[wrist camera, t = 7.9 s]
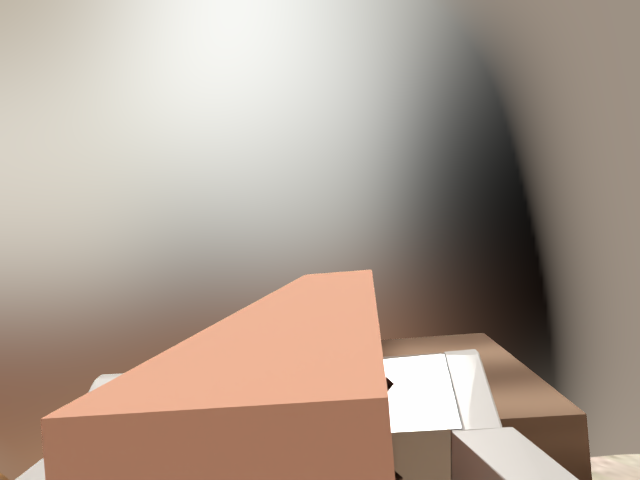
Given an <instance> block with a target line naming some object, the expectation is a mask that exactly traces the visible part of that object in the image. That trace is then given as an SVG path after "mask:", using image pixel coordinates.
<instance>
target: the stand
mask: <svg viewBox="0 0 640 480" xmlns="http://www.w3.org/2000/svg"><path fill="white" fill-rule="evenodd" d="M381 344H382V352H383V357H389V356H402V355H416V354H429V353H444V352H447V351H458V350H470V349H476V350H477V351H478V352H479V354H480V358H481V361H482V364H483V367H484V370H485V373H486V377H487V380H488V383H489V386H490V389H491V393H492V396H493V399H494V402H495V405H496V408H497V412H498V415H499V418H500V421H501V424H502V427H513V428H515V429H516V430H517V431H518V432H520V433H521V434H522V435H523V436H525V437H526V438H527V439H528V440H530V441H531V442H532V443H533V444H535V445H536V446H537V447H538V448H540V449H541V450H542V451H543V452H545V453H546V454H547V455H548V456H550V457H551V458H552V459H553V460H555V461H556V462H557V463H558V464H560V465H561V466H562V467H563V468H565V469H566V470H567V471H568V472H570V473H571V474H572V475H574V476H575V477H576V478H577V479H579V480H592V475H591V463H590V452H589V440H588V428H587V418H586V413H584V412H583V411H582V410H580V409H579V408H578V407H577V406H575V405H574V404H572V403H571V402H570V401H569V400H568V399H566V398H565V397H564V396H563V395H561V394H560V393H559V392H557V391H556V390H555V389H554V388H553V387H551V386H550V385H549V384H547V383H546V382H545V381H544V380H542V379H541V378H540V377H539V376H537V375H536V374H535V373H533V372H532V371H531V370H530V369H528V368H527V367H526V366H525V365H523V364H522V363H521V362H520V361H518V360H517V359H516V358H514V357H513V356H512V355H511V354H509V353H508V352H507V351H506V350H504V349H503V348H502V347H501V346H499V345H498V344H497V343H495V342H494V341H493V340H492V339H490V338H489V337H488V336H486V335H485V334H484V333H475V334H462V335H447V336H432V337H419V338H404V339H390V340H381Z"/></svg>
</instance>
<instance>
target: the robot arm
mask: <svg viewBox="0 0 640 480" xmlns="http://www.w3.org/2000/svg"><path fill="white" fill-rule="evenodd" d="M383 359H384V367H385V374H386V382H387V390H388V397H389V409H390V421H391V433H392V445H393V457H394V469H395V480H579V479H577V478H576V477H575V476H574V475H572V474H571V473H570V472H568V471H567V470H566V469H565V468H563V467H562V466H561V465H560V464H558V463H557V462H556V461H555V460H553V459H552V458H551V457H550V456H548V455H547V454H546V453H545V452H543V451H542V450H541V449H540V448H538V447H537V446H536V445H535V444H533V443H532V442H531V441H530V440H528V439H527V438H526V437H525V436H523V435H522V434H521V433H520V432H518V431H517V430H516V429H515V428H513V427H502V424H501V421H500V418H499V415H498V412H497V408H496V405H495V402H494V399H493V396H492V393H491V389H490V386H489V383H488V380H487V377H486V373H485V370H484V367H483V364H482V361H481V358H480V354H479V352H478V351H477V350H476V349H470V350H458V351H447V352H444V353H429V354H416V355H402V356H389V357H383ZM120 375H122V374H106V375H105V374H103V375H101V376H99V377H98V378H97V379H95V381H94V382H93V384H92V386H91V388H90V390H89V392H91V391H93V390H94V389H96V388H98V387H100V386H102V385H104V384H105V383H107V382H109V381H111V380H113V379H115V378H116V377H118V376H120ZM89 392H88V393H89ZM15 480H45V469H44V458H43V459H42V460H40V461H39V462H37V463H36V464H35V465H33V466H32V467H31V468H30V469H28V470H27V471H26V472H25V473H23V474H22V475H21V476H20V477H18V478H17V479H15Z"/></svg>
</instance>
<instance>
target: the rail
mask: <svg viewBox="0 0 640 480" xmlns="http://www.w3.org/2000/svg"><path fill="white" fill-rule="evenodd" d="M41 431H42V443H43V456H44V469H45V480H395V469H394V457H393V445H392V433H391V421H390V409H389V397H388V390H387V382H386V374H385V367H384V359H383V352H382V344H381V337H380V329H379V322H378V314H377V307H376V299H375V291H374V284H373V276H372V270H359V271H347V272H335V273H321V274H309V275H304V276H302V277H300V278H298V279H296V280H295V281H293V282H291V283H289V284H287V285H285V286H284V287H282V288H280V289H278V290H276V291H274V292H272V293H271V294H269V295H267V296H265V297H263V298H261V299H260V300H258V301H256V302H254V303H252V304H250V305H249V306H247V307H245V308H243V309H241V310H239V311H238V312H236V313H234V314H232V315H230V316H229V317H227V318H225V319H223V320H221V321H219V322H217V323H216V324H214V325H212V326H210V327H208V328H207V329H205V330H203V331H201V332H199V333H197V334H195V335H194V336H192V337H190V338H188V339H186V340H185V341H183V342H181V343H179V344H177V345H175V346H173V347H172V348H170V349H168V350H166V351H164V352H162V353H161V354H159V355H157V356H155V357H153V358H151V359H150V360H148V361H146V362H144V363H142V364H140V365H139V366H137V367H135V368H133V369H131V370H129V371H127V372H126V373H124V374H122V375H120V376H118V377H116V378H115V379H113V380H111V381H109V382H107V383H105V384H104V385H102V386H100V387H98V388H96V389H94V390H93V391H91V392H89V393H87V394H85V395H83V396H82V397H80V398H78V399H76V400H74V401H73V402H71V403H69V404H67V405H65V406H63V407H61V408H60V409H58V410H56V411H54V412H52V413H50V414H49V415H47V416H45V417H43V418H41Z"/></svg>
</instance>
